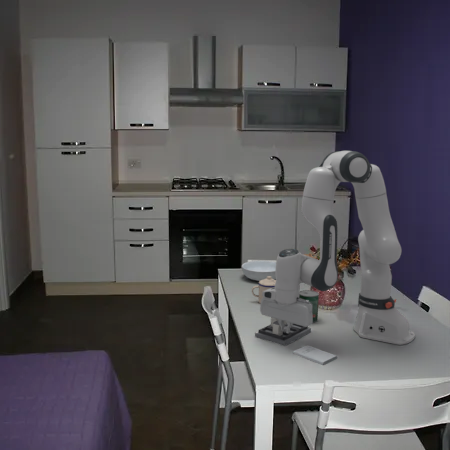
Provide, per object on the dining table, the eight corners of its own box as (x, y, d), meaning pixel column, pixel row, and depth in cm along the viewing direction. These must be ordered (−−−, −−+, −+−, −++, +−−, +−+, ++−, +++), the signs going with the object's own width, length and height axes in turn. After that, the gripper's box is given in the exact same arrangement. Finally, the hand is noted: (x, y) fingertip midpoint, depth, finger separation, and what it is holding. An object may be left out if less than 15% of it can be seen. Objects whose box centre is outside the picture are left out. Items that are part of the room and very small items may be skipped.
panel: (310, 331, 214) (311, 325, 214) (284, 346, 201) (284, 339, 200) (281, 323, 222) (282, 317, 222) (254, 336, 209) (255, 330, 208)
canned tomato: (320, 318, 229) (322, 292, 227) (312, 324, 222) (313, 297, 220) (302, 314, 233) (304, 288, 231) (294, 320, 227) (295, 293, 225)
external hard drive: (322, 367, 186) (292, 355, 195) (337, 359, 192) (307, 348, 200) (323, 362, 186) (293, 350, 194) (337, 355, 191) (307, 344, 200)
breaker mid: (280, 327, 214) (281, 315, 213) (275, 329, 212) (276, 317, 211) (275, 325, 215) (275, 313, 214) (270, 327, 213) (271, 315, 212)
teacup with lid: (277, 299, 252) (278, 273, 250) (279, 306, 243) (280, 279, 241) (250, 298, 252) (251, 273, 250) (251, 305, 243) (252, 279, 241)
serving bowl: (237, 274, 292) (237, 261, 290) (277, 272, 296) (277, 260, 294) (246, 285, 272) (246, 271, 270) (288, 284, 275) (289, 270, 274)
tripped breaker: (282, 334, 207) (283, 321, 206) (278, 336, 205) (278, 324, 204) (277, 332, 208) (277, 320, 207) (272, 335, 206) (273, 322, 205)
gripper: (317, 299, 197) (315, 336, 200) (268, 287, 210) (266, 323, 212) (307, 303, 193) (305, 342, 195) (258, 291, 205) (257, 327, 208)
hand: (285, 332), depth 204 cm, fingers closed
